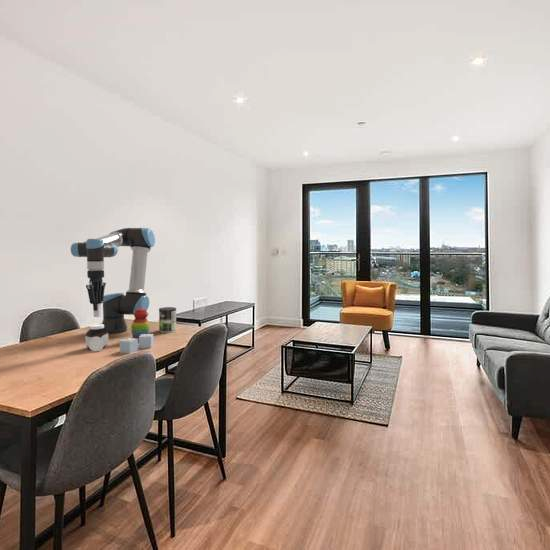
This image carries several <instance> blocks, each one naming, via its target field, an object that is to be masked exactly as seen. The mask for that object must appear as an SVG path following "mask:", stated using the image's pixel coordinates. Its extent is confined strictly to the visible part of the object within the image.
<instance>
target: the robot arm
mask: <svg viewBox="0 0 550 550" xmlns="http://www.w3.org/2000/svg"><path fill="white" fill-rule="evenodd" d="M155 244H156V236H155V234H154V231H153V230H152V229H151V228H148V227H147V228H145V227H125V228H121V229H117V230H114V231H111V232H109V233H108V234H107V235H103V236H100V237H97V238H87V239H86V241H83V242H80V241H79V242H73V243H72V244H71V245H70V254H71V255H72V256H73V257H78V258H86V265H87V266H86V269H87V272H86V273H87V279H89V281H88V282H89V283H88V284H86V285H85V287H86V289H87V295H88V301H89V303H90V305H92V307H93V308H92V310H93V318H100V317H101V315H102V322H101V324H104V329H106V330H107V332H108V335H109V334H111V335H112V334H121V333H124V332H127V331H128V325H127V322H126V319H125V315H129V316H131V315H132V316H134V312H135V310H137V309H140V308H142V309H145V310H146V312H148V309H149V307H150V298H149V296H148V295H147V292H146V291H145V284H146V283H145V282H146V274H147V272H146V271H147V262H148V261H147V259H148V253H150V252H151V248H152V247H154V246H155ZM119 247H130V249H131V250H132V258H131V266H130V267H131V268H130V275H129V276H130V278H129V286H128V290H127V291H126V292H125V294H124V292H114V293H109V294H108V293H107V294H105V288H106V285H107V283H106V282H104V281H103V278H105V271H104V269H105V262H104V261H105V258H113V257H115V256H117V254H118V248H119ZM101 304H102V314H101Z"/></svg>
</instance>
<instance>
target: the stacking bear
mask: <svg viewBox="0 0 550 550" xmlns="http://www.w3.org/2000/svg"><path fill="white" fill-rule="evenodd" d="M133 316H134V319H133V321H132V323H131V328H130V330H131V334H132V338H134V339H138V343H139V336H140V335H141V334H150V324H149V321H148V316H149V312H148V311H146V310H145V309H142V308H140V309H137V310H135V312H134V315H133Z"/></svg>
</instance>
